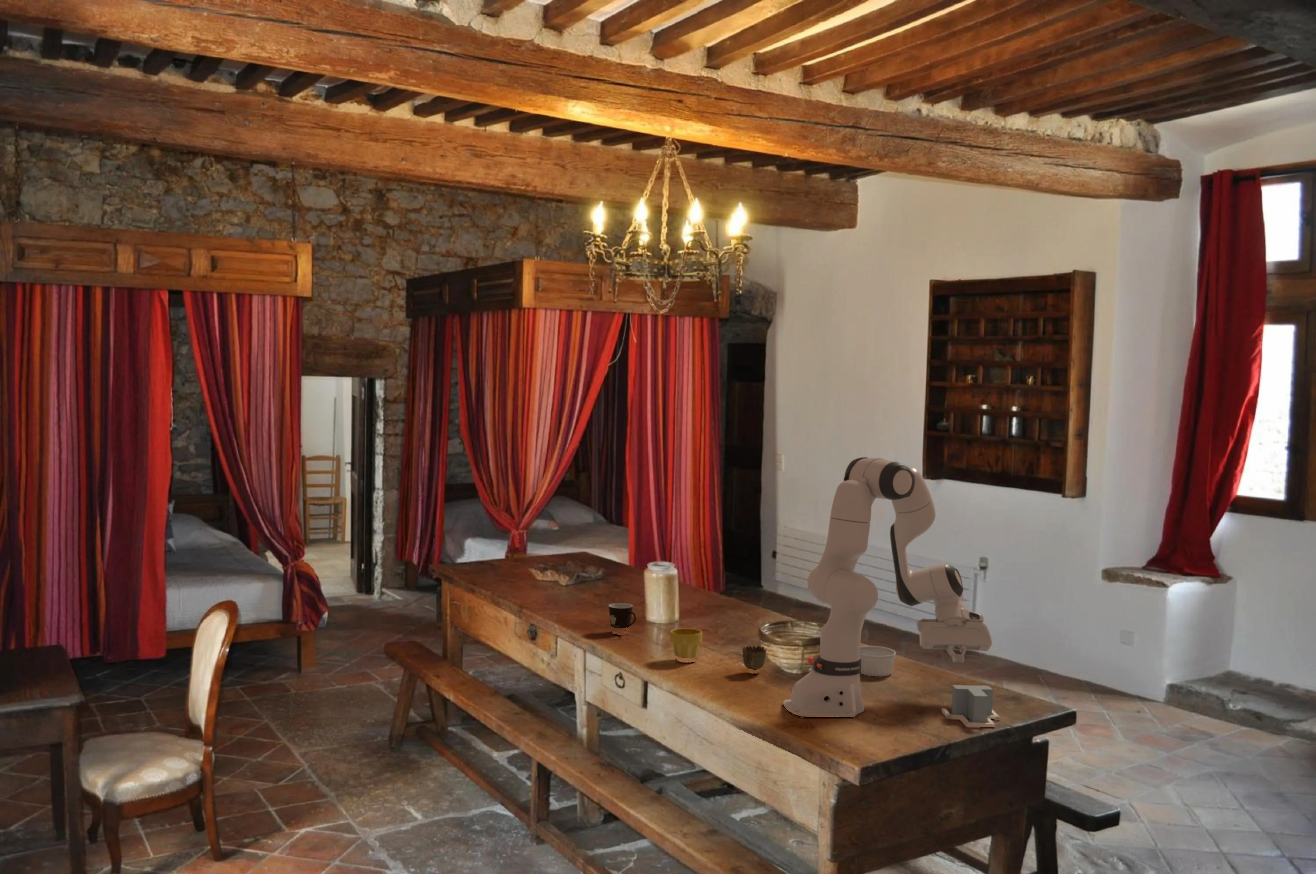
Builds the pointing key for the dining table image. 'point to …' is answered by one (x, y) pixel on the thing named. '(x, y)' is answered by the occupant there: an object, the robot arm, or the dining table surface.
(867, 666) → the ramekin
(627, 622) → the coffee mug
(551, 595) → the dining table surface
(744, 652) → the cup
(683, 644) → the plant pot
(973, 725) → the t outline
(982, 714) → the t block
